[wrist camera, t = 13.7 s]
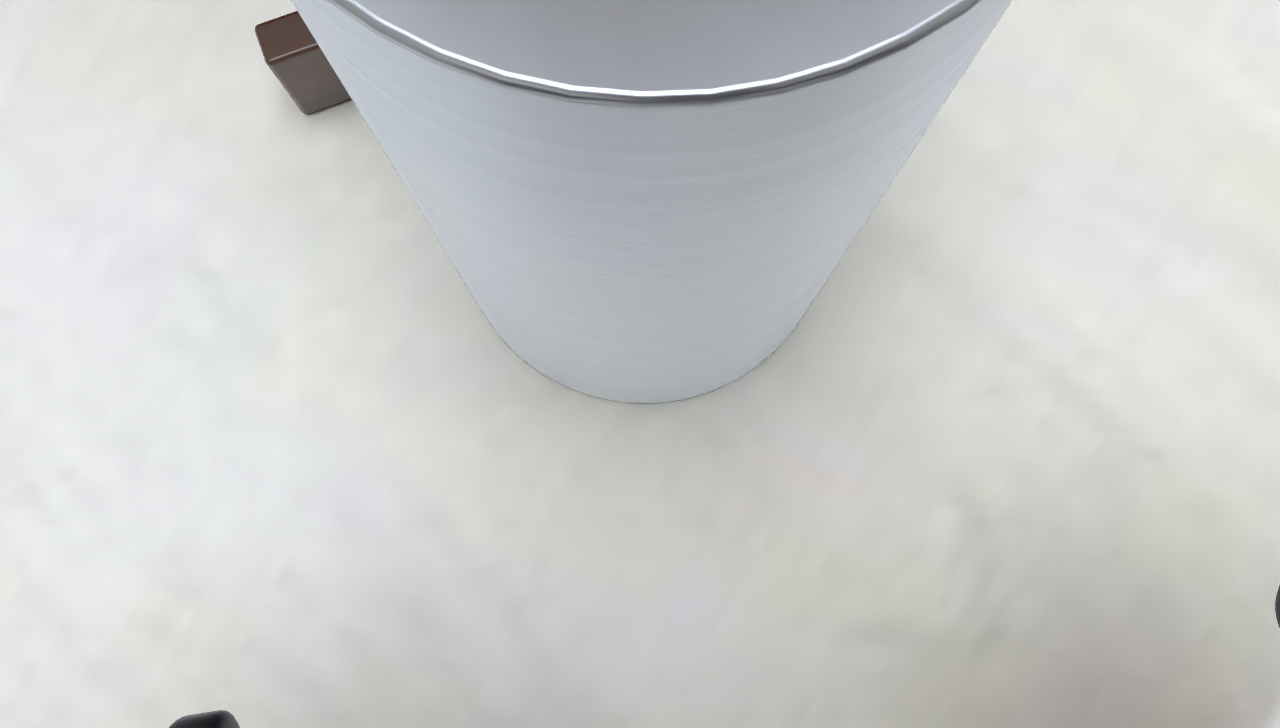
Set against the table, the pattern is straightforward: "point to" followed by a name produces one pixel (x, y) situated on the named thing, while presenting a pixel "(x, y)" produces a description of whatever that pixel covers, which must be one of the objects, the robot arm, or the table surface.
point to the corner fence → (300, 63)
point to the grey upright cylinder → (647, 160)
